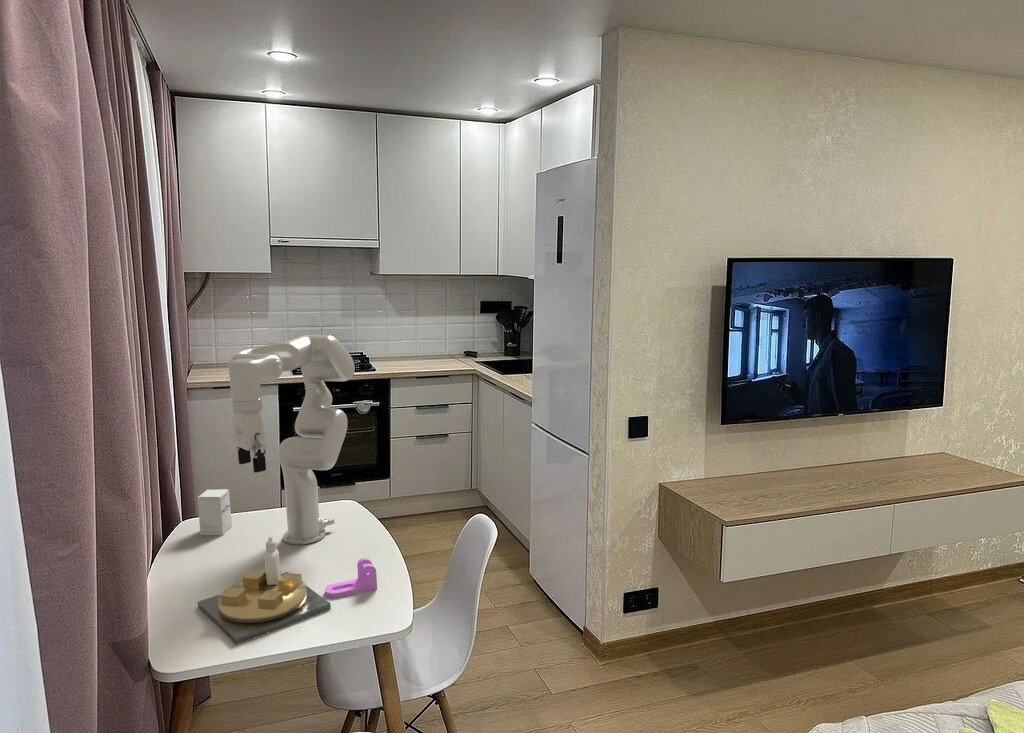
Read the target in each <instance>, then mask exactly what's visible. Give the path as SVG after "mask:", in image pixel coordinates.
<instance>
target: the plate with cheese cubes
mask: <svg viewBox="0 0 1024 733" xmlns="http://www.w3.org/2000/svg"><path fill="white" fill-rule="evenodd" d="M284 573H285V572H284ZM306 586H307V585H306V582H305V581H303V580H302V573H292V572H288V573H285V574H284V575H281V578H280V579H279V580H278V584H276V585H268V584H267V581H266V570H255V569H251V570H250V571H249V572H247V573H246V574H245V575H244V576H243V577H242V581H240V582H237V583H234V584H233V585H231V586H229V587H228V588H226V589H225V590H224V591H223V592H222V593H220V594H221V595H220V597H219V599H218V607H219V613H220V615H221V616H222V617H224V618H225V619H227V620H230V621H233V622H239V623H258V622H265V621H270V620H274V619H277V618H280V617H283V616H285V615H288V614H290V613H292V612H293V611H295V610H297V609H298V608H299V607H301V606H302V605H303V603H304V602H305V601H306V598H307V589H306Z"/></svg>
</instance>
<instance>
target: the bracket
mask: <svg viewBox="0 0 1024 733" xmlns="http://www.w3.org/2000/svg"><path fill="white" fill-rule="evenodd" d="M356 566H357V578H355V579H350V580H345V581H340V582H337V583H336V582H335V583H331V584H329V585H327V586H326V587H325V588H324V595H326V596H325V597H327V598H330V599H335V598H342V597H347V596H350V595H351V594H352V595H356V594H360V593H365V591H366V592H369V591H374V590H378V578H377V576H378V575H377V569H376V567H375V566H374V565H373V562H372V561H371V559H370V558H368V557H362V558H360V559H359V560H358V562H357V565H356Z"/></svg>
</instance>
